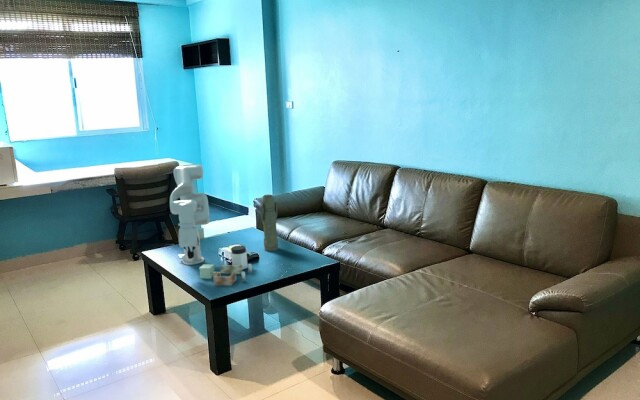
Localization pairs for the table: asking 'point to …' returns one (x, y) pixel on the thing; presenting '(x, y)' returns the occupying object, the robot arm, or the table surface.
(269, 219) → the olive brown statue
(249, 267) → the goal posts
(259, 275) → the table surface
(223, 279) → the tunnel
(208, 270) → the block
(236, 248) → the jar
